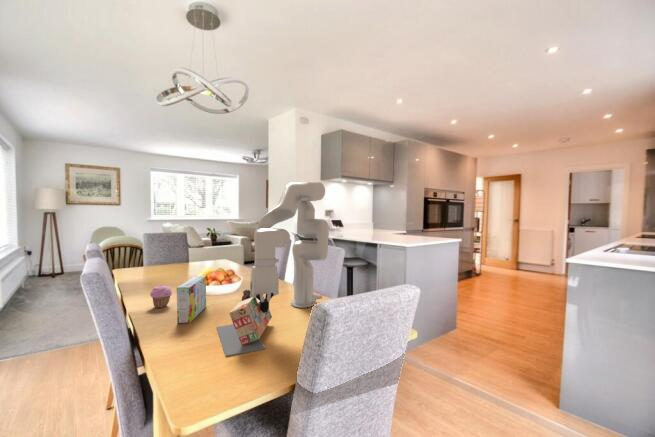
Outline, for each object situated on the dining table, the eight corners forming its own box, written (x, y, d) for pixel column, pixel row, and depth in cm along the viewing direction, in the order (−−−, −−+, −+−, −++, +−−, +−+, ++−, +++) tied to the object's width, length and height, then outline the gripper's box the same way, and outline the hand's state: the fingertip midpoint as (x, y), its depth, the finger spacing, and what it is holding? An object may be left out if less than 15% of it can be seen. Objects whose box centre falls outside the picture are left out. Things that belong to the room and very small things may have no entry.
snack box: (194, 307, 143) (194, 275, 143) (206, 307, 143) (206, 275, 143) (176, 323, 122) (176, 286, 121) (190, 323, 122) (190, 286, 122)
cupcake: (146, 308, 141) (146, 286, 140) (162, 302, 149) (162, 282, 148) (159, 310, 137) (159, 288, 137) (175, 305, 145) (175, 284, 145)
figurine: (258, 315, 132) (258, 288, 132) (248, 321, 125) (248, 292, 125) (245, 313, 135) (246, 286, 135) (234, 318, 128) (234, 290, 128)
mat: (249, 322, 124) (249, 321, 124) (265, 349, 100) (265, 348, 100) (216, 327, 118) (216, 326, 118) (225, 356, 95) (225, 355, 95)
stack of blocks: (258, 322, 123) (247, 294, 123) (272, 317, 123) (261, 289, 123) (241, 346, 102) (228, 312, 101) (258, 339, 101) (245, 305, 101)
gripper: (281, 260, 119) (280, 306, 120) (242, 262, 113) (242, 311, 113) (287, 263, 113) (286, 311, 113) (246, 265, 106) (246, 317, 106)
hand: (264, 311), depth 113 cm, fingers closed
